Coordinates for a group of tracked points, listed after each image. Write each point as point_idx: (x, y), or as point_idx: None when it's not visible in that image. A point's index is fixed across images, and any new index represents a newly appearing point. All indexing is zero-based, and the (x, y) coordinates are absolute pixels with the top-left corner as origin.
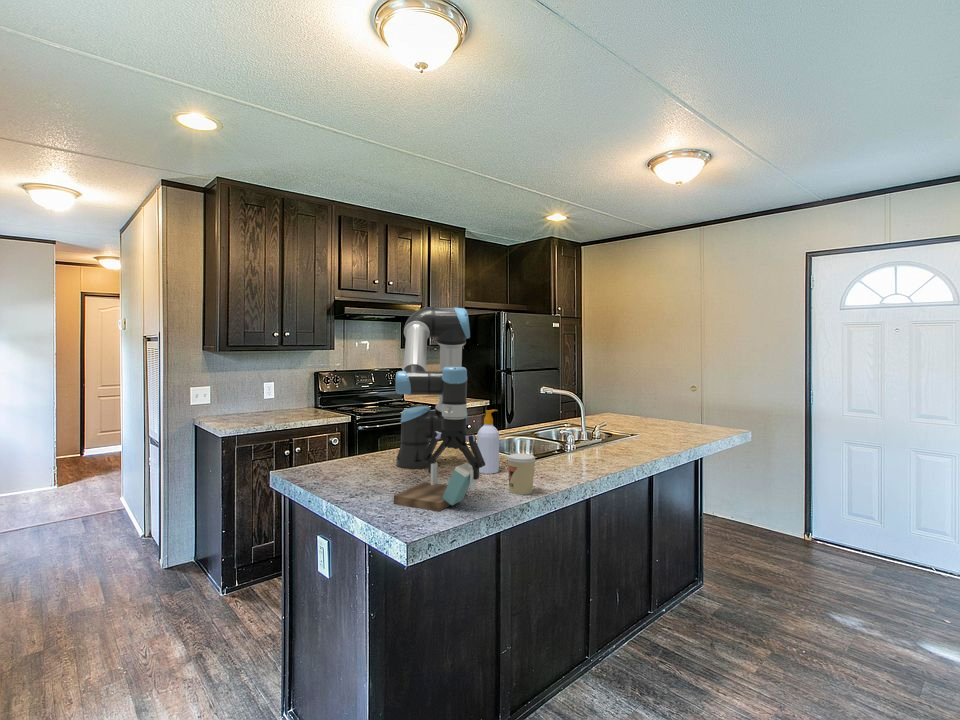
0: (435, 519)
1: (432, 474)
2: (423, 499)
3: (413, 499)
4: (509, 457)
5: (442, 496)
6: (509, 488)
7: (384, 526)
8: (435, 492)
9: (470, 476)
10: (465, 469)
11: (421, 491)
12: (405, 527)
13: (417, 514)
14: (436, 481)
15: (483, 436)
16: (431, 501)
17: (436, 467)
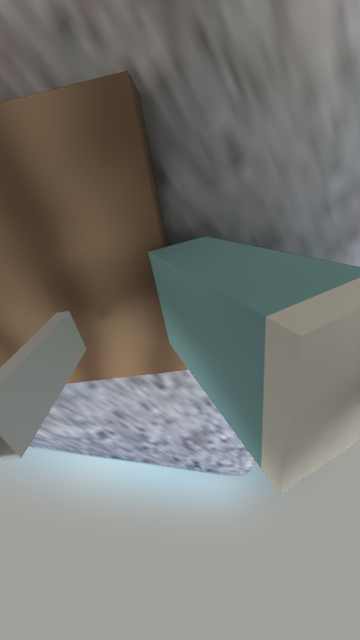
0: None
1: (60, 390)
2: (118, 369)
3: (89, 379)
4: None
5: (143, 309)
6: None
7: (156, 457)
8: (74, 282)
9: None
10: (337, 425)
11: (23, 307)
12: (194, 445)
13: (155, 392)
14: (66, 321)
15: None
16: (155, 370)
17: (16, 385)
